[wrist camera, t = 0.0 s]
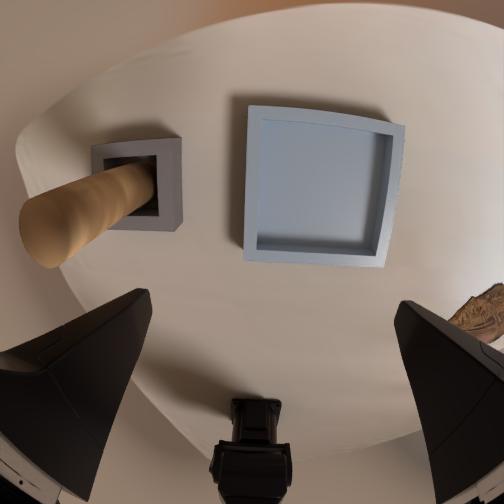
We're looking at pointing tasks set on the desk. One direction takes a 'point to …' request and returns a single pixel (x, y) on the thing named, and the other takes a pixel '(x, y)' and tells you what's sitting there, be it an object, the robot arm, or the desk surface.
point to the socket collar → (167, 181)
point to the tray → (320, 186)
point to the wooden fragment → (483, 315)
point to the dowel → (83, 210)
